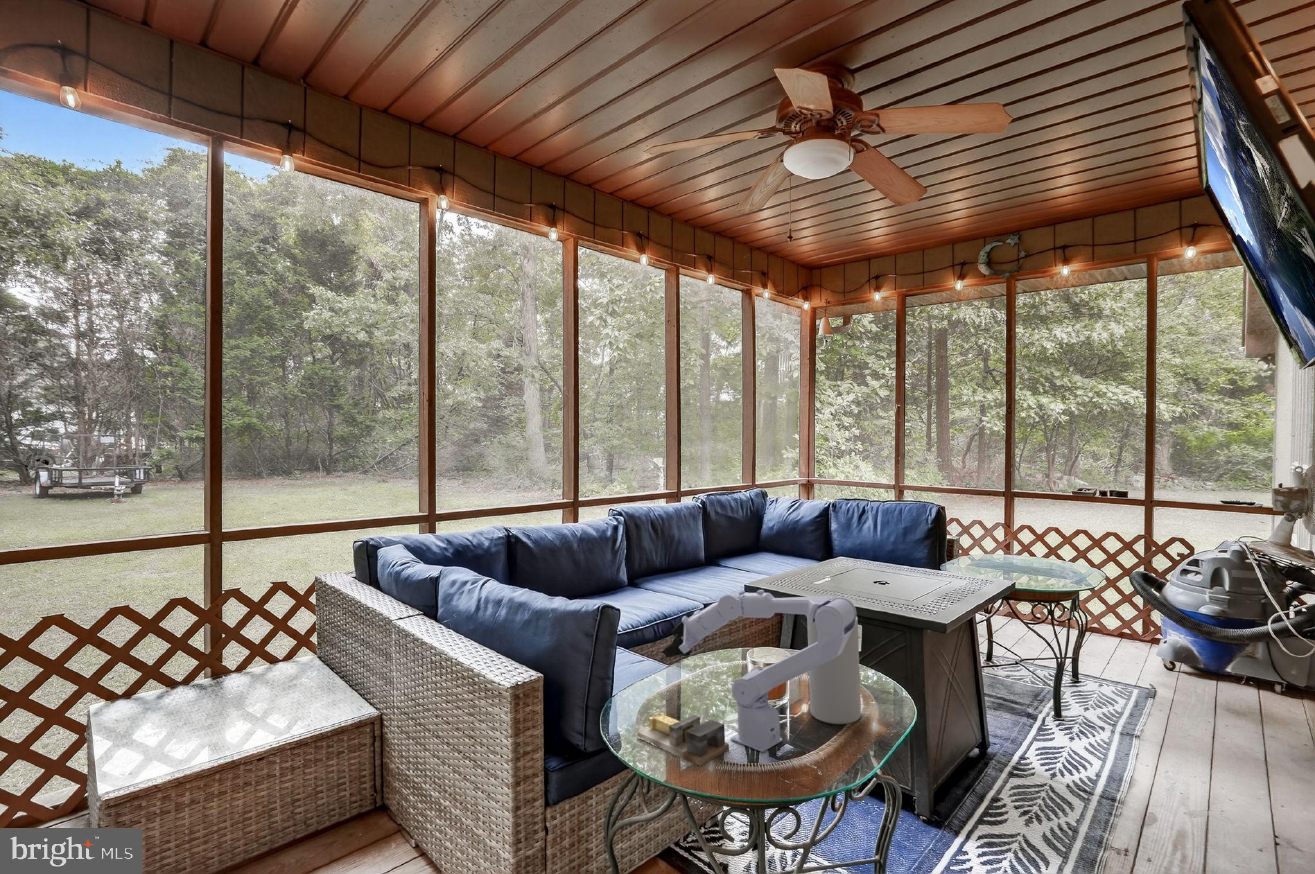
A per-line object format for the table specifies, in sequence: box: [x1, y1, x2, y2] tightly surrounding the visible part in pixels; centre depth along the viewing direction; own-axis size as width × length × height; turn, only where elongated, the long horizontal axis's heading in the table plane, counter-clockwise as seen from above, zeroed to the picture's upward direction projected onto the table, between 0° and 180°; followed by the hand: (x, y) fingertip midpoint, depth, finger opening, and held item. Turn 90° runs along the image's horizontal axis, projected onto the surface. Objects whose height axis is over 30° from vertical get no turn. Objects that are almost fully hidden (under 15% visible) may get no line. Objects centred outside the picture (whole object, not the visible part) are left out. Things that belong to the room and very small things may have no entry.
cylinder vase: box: [806, 615, 862, 725], centre depth 164 cm, size 12×12×25 cm
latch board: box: [637, 714, 730, 767], centre depth 151 cm, size 20×10×6 cm, turn 44°
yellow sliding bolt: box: [648, 712, 694, 742], centre depth 153 cm, size 12×4×2 cm, turn 44°
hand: (669, 644), depth 165 cm, fingers open, 7 cm apart
